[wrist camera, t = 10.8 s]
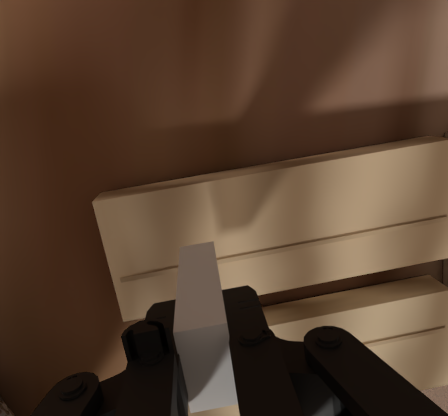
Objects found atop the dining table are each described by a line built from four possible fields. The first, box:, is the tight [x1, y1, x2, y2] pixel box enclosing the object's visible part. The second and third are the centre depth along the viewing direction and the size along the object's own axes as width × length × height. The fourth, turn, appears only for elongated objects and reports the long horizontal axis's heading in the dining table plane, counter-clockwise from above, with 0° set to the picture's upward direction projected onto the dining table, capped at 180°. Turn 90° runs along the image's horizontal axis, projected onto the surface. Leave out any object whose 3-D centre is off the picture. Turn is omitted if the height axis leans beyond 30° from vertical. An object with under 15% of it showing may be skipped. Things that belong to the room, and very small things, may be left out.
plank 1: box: [92, 136, 448, 322], centre depth 20 cm, size 18×6×2 cm, turn 98°
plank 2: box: [188, 274, 448, 416], centre depth 22 cm, size 18×6×2 cm, turn 98°
